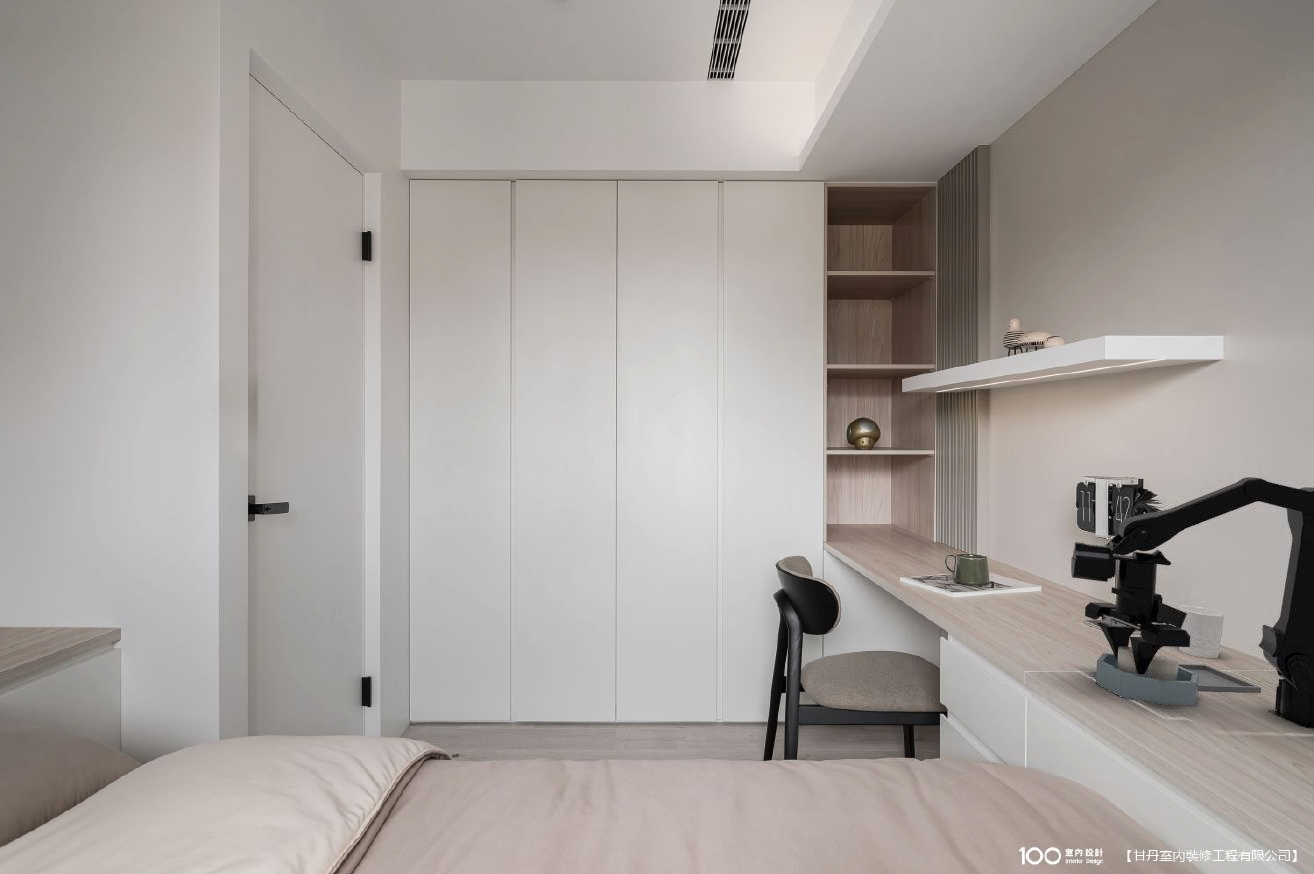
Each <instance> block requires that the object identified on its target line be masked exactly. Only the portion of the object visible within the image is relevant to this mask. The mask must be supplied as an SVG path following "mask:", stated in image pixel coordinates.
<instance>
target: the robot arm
mask: <svg viewBox="0 0 1314 874" xmlns="http://www.w3.org/2000/svg"><path fill="white" fill-rule="evenodd" d="M1257 502H1261V503H1264V504H1268V505H1270V506H1271V505H1272V506H1275V507H1279V508H1284V509H1286V516H1287V523H1288V526H1289V529H1290V535H1291V538H1292V540H1291V546H1290V554H1289V559H1288V565H1287V570H1286V571H1287V572H1286V578H1285V585H1284V591H1283V596H1282V601H1281V602H1282V604H1281V610H1280V615H1279V617H1278V620H1277V622H1276V623H1274V624H1273V626H1270V625H1268V624H1267V625H1266V624H1262V628H1261V632H1262V639H1261V641H1260V643H1259V644H1258V647H1259V648H1260V649H1262V654H1263V657H1264V659H1265V660H1266V661H1267V662H1268V663H1269V664H1270V665H1271V666H1272V667H1273V668H1275V670H1276V673H1277V675H1278V676H1279V677H1280V678H1279V679H1278V686H1276V689H1275V690H1276V692H1275V704H1274V705H1275V707H1274V708H1275V709H1274V710H1268V711H1267V712H1268V713H1271V714H1273V715H1275V716H1277V717H1280V718H1282V719H1284V720H1285V721H1286V720H1287V721H1288V722H1291V723H1293V724H1295V725H1297V726H1300V727H1302V728H1306V729H1314V487H1309V486H1307V487H1301V488H1296V487H1292V486H1288V485H1284V484H1280V483H1275V482H1271V481H1267V480H1266V479H1263V478H1260V477H1251V476H1248V477H1243V478H1241V479H1240V480H1238V481H1236V482H1234V483H1232V484H1229V485H1226V486H1224V487H1222V488H1219V489H1217V490H1214V491H1212V492H1210V493H1207V494H1205V495H1202V496H1199V497H1197V498H1194V499H1191V500H1188V501H1186V502H1184V503H1182V504H1179V505H1177V506H1174V507H1171V508H1168V509H1163V510H1160V511H1159V510H1158V511H1154V512H1153V511H1152V512H1147V513H1142V514H1138V515H1134V516H1131V517H1128V518H1127V517H1126V518H1125V519H1124V520H1122V521H1121V522H1120V524H1119V527H1118V533H1116V535H1115V536H1114V537H1113V538H1112V539H1110V540H1109V541H1108V542H1107V543H1106V544H1105V545H1098V544H1097V545H1095V544H1087V543H1084V542H1078V541H1075V542H1074V548H1073V553H1072V556H1071V561H1070V562H1071V563H1070V564H1071V565H1070V569H1071V570H1070V571H1071V573H1070V574H1071V578H1072V579H1081V580H1087V581H1088V580H1089V581H1096V582H1105V583H1107V582H1109V579H1113V578H1115V576H1116V572H1117V571H1116V570H1117V561H1118V572H1117V585H1116V586H1117V587H1115V586H1113V587H1112V586H1111V594H1113V595H1114V594H1115V595H1116V602H1115V603H1116V604H1115V603H1113V602H1096V601H1095V602H1092V601H1091V602H1089V603H1088V604H1087V605H1086V606H1085V607H1084V610H1085V611H1084V616H1085V617H1087V618H1089V619H1092V620H1094V621H1095V620H1096V621H1097V620H1098V619H1100V618H1101V621H1100V622H1097V626H1098V627H1100V629H1101V631H1102V632H1103V635H1104V637H1105V639H1106V640H1107V642H1108V644H1109V646H1110V649H1111V650H1112V654H1114V655H1115V657H1116V660H1117V662H1118V647H1120V646H1127V647H1132V651H1133V656H1134V662H1135V666H1136V670H1137V673H1138V674H1145V672H1146V671H1147V669H1148V667H1149V665H1150V663H1151V661H1152V659H1153V657H1154V656H1156V654H1157V653H1158V651H1159V650H1160V649H1161V648H1164V647H1167V648H1168V647H1169V648H1171V647H1172V648H1179V647H1190V635H1189V633H1188V632H1187V631H1186V630H1183V629H1181V628H1182V625H1183V623H1184V620H1185V618H1186V615H1187V613H1185V612H1183V611H1180V610H1178V608H1175V607H1173V606H1171V605H1168V604H1166V603H1163V596H1162V594H1160V593H1157V592H1156V588H1157V587H1156V585H1157V583H1156V582H1157V569H1158V568H1157V567H1158V565H1159V566H1160V565H1161V566H1171V565H1172V562H1171V561H1170V560H1169V559H1168V558H1166V557H1165V555H1164V553H1163V552H1162V551H1161V550H1160V549H1156V548H1158V547H1160V546H1162V545H1163V544H1165V543H1167V542H1168V541H1170V540H1172V539H1173V538H1174V537H1175V536H1177V535H1178V534H1179V533H1181V532H1183V531H1184V530H1186V529H1189V528H1191V527H1194V526H1196V525H1199V524H1201V523H1204V522H1206V521H1209V520H1213V519H1215V518H1217V517H1221V516H1222V515H1225V514H1228V513H1230V512H1233V511H1235V510H1238V509H1240V508H1243V507H1246V506H1249V505H1252V504H1254V503H1257ZM1155 549H1156V550H1155ZM1153 550H1154V552H1152V553H1151V552H1150V553H1149V552H1148V551H1153ZM1129 554H1131V555H1129ZM1135 631H1139V632H1140V634H1139V636H1132V635H1133V634H1134V633H1135ZM1129 645H1131V646H1129Z"/></svg>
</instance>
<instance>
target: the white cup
mask: <svg viewBox="0 0 1314 874" xmlns="http://www.w3.org/2000/svg"><path fill="white" fill-rule="evenodd" d="M1177 609H1178V610H1180V611H1183V612H1185V613H1187V615H1186V618H1185V620H1184V623H1183V625H1182V628H1181V629H1183V630H1186V631H1187V632H1188V633H1189V635H1190V647H1178V650H1179V651H1181V652H1182V653H1184V654H1188V655H1191V656H1193V657H1194V656H1195V657H1200V658H1206V659H1217V658H1219V653H1220V647H1221V642H1222V637H1223V636H1222V635H1223V627H1224V621H1225V620H1224V619H1225V613H1223V612H1221V611H1219V610H1215V609H1211V608H1207V607H1200V606H1194V605H1179V606H1177Z"/></svg>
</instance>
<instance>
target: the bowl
mask: <svg viewBox="0 0 1314 874" xmlns="http://www.w3.org/2000/svg"><path fill="white" fill-rule="evenodd" d="M1095 671H1096V674H1095V675H1096V676H1095V684H1096V683H1097V684H1098V685H1097V684H1096V685H1097V686H1099V685H1100V686H1099V687H1101V686H1103V687H1104V688H1106V689H1108V690H1110V691H1111V692H1110V691H1109V692H1110V693H1112V692H1113V693H1116V694H1117V695H1119V696H1121V697H1120V698H1122V697H1124V698H1123V699H1126V698H1127V700H1130V699H1131V700H1130V701H1134V700H1135V699H1139V700H1143V701H1147V702H1150V703H1154V704H1158V705H1164V706H1165V705H1168V706H1171V705H1172V706H1173V705H1174V706H1196V703H1197V702H1196V701H1197V698H1198V695H1199V694H1198V693H1199V691H1198V680H1199V674H1196V673H1194V672H1192V671H1189V670H1187V669H1185V668H1182V667H1180V666H1178V678H1177V681H1168V680H1158V679H1153V678H1149V677H1148V669H1147V671H1146V677H1145V676H1141V675H1136V674H1132V673H1128V672H1124V671H1122V670H1120V669H1118V668H1117V660H1116V657H1115V655H1114V653H1110V652H1109V653H1104V652H1102V654H1101V655H1100V656H1099V658H1098V659H1097V660H1096V670H1095ZM1103 687H1102V688H1103ZM1104 688H1103V689H1104ZM1106 689H1105V690H1106ZM1108 690H1107V691H1108ZM1113 693H1112V694H1113ZM1117 695H1116V696H1117ZM1119 696H1118V697H1119Z"/></svg>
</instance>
